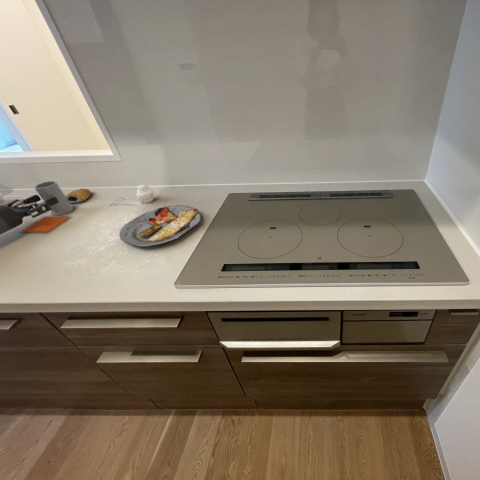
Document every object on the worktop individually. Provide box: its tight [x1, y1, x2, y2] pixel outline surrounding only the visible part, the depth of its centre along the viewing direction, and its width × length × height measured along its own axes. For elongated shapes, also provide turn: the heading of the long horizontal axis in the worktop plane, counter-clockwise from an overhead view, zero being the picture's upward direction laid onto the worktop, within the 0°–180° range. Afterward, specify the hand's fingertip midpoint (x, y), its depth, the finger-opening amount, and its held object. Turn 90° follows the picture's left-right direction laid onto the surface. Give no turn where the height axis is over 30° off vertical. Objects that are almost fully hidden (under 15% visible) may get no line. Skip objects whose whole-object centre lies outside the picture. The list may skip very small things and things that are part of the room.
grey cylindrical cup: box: [33, 180, 74, 216], centre depth 98 cm, size 6×6×11 cm
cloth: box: [21, 215, 70, 233], centre depth 94 cm, size 9×9×1 cm
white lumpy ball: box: [135, 184, 155, 204], centre depth 105 cm, size 6×6×7 cm
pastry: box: [65, 188, 92, 204], centre depth 109 cm, size 9×7×4 cm
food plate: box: [118, 204, 202, 247], centre depth 90 cm, size 25×23×4 cm
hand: (47, 198), depth 96 cm, fingers open, 8 cm apart
